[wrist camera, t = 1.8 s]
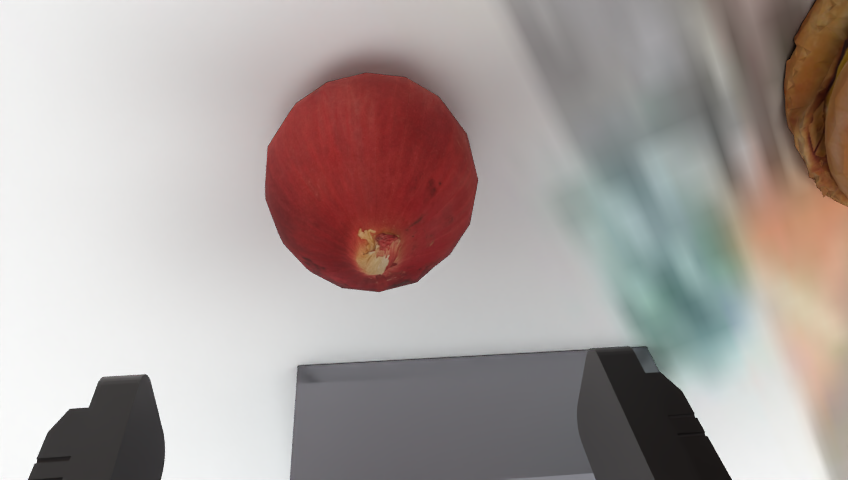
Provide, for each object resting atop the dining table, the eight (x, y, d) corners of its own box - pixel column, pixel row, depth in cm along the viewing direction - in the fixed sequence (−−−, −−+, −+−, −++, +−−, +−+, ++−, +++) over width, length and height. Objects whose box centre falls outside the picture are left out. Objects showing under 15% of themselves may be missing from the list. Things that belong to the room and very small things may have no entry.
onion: (472, 182, 25) (520, 337, 18) (308, 222, 25) (297, 389, 19) (436, 15, 22) (479, 129, 15) (249, 63, 22) (210, 196, 15)
